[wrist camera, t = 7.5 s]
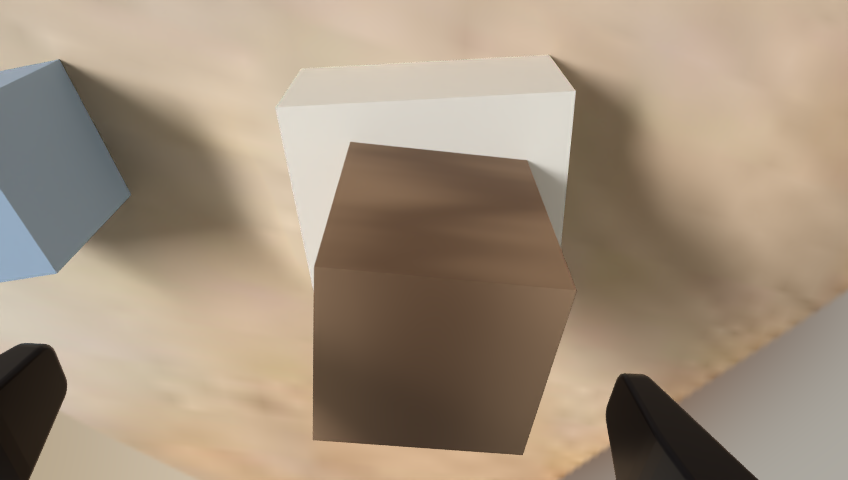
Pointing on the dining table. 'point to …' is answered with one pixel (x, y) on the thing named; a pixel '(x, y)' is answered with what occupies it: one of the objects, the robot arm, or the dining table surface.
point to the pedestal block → (425, 123)
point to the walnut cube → (435, 302)
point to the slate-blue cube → (49, 172)
